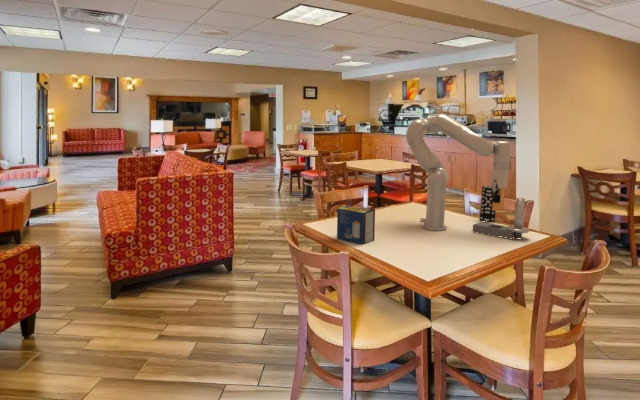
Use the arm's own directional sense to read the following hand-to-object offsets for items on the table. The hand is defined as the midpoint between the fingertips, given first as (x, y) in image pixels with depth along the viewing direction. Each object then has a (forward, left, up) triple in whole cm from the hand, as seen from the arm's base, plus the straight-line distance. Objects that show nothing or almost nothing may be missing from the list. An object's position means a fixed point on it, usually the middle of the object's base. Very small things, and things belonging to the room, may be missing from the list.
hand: (498, 201), depth 214 cm
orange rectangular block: (0, 0, -4) cm, 4 cm away
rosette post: (+11, 0, -17) cm, 20 cm away
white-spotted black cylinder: (-16, +26, -17) cm, 35 cm away
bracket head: (0, 0, -17) cm, 17 cm away
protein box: (-42, -61, -17) cm, 76 cm away
